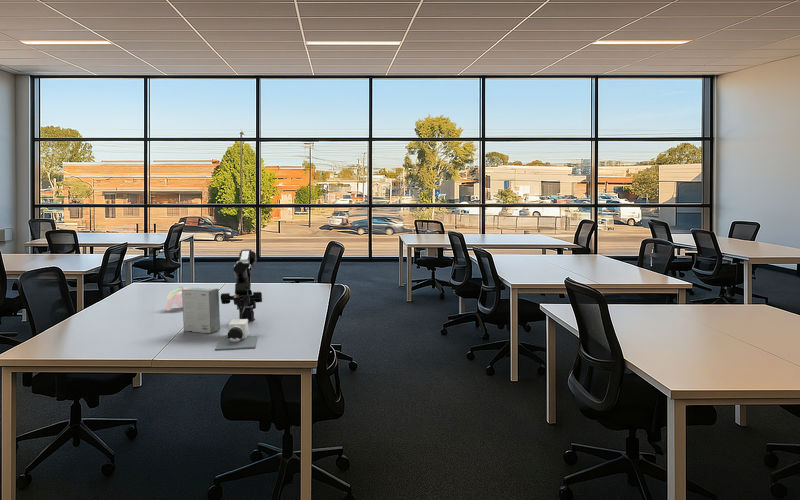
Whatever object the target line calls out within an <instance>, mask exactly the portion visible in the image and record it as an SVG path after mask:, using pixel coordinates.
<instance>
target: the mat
mask: <svg viewBox="0 0 800 500" xmlns="http://www.w3.org/2000/svg"><path fill="white" fill-rule="evenodd" d="M258 339H259V338H258V335H248V336H247V338H246V339H245V340H240V341H238V342H232V341H230V340H229V339H228V336H222V337H219V340H218V342H217V344H216V347H215V348H214V351H227V350H230V351H231V350H246V349H256V346H257V342H258Z"/></svg>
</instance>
